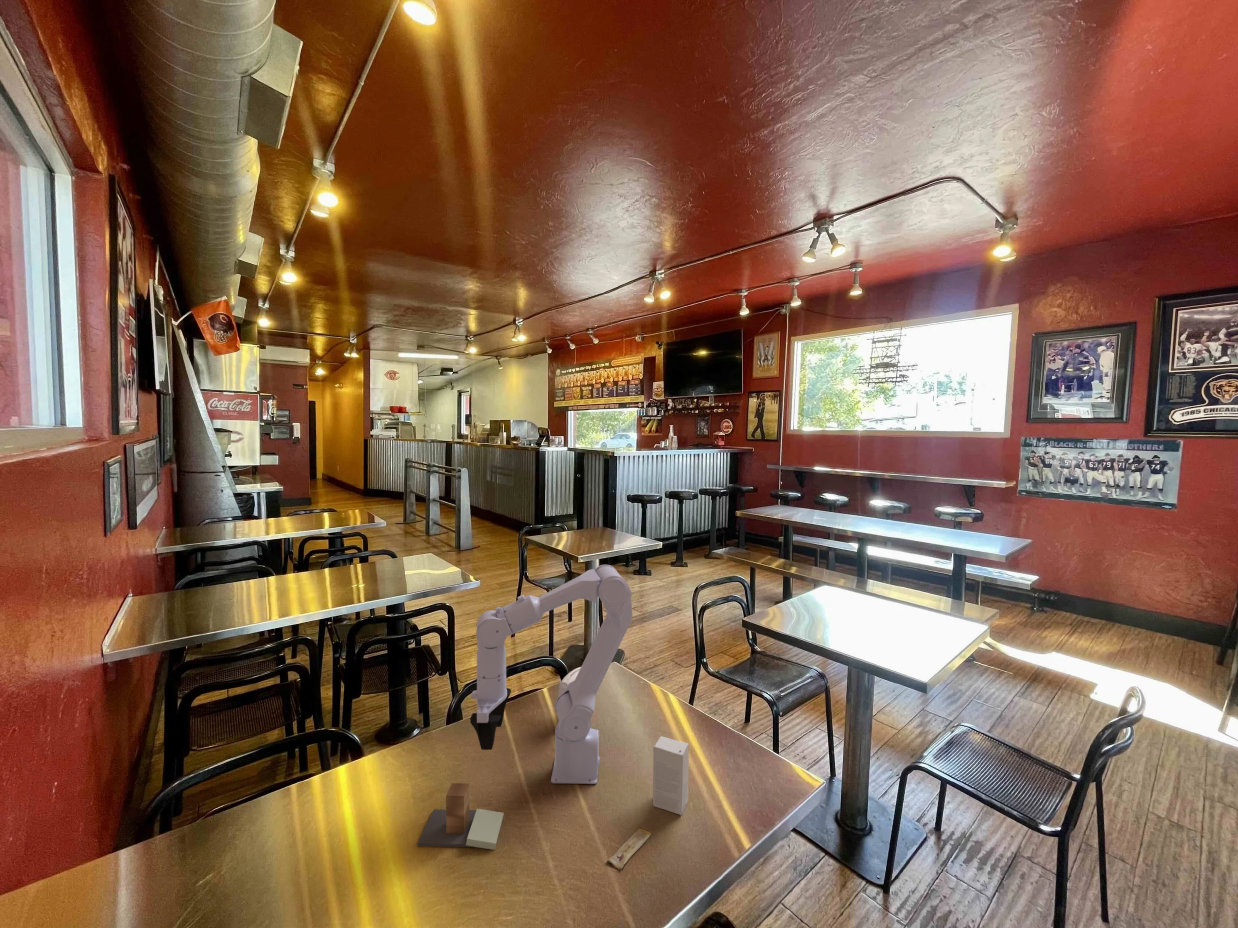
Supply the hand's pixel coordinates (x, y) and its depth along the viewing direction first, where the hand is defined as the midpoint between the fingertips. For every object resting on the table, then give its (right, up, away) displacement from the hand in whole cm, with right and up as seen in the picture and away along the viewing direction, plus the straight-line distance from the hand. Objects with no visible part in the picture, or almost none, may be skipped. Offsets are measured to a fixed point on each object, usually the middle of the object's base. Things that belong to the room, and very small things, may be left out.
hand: (491, 736), depth 105 cm
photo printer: (+15, -9, +25) cm, 30 cm away
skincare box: (+36, -11, -4) cm, 38 cm away
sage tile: (+4, -10, -12) cm, 17 cm away
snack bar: (+28, -12, -15) cm, 34 cm away
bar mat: (-4, -11, -11) cm, 16 cm away
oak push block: (-3, -10, -11) cm, 16 cm away
